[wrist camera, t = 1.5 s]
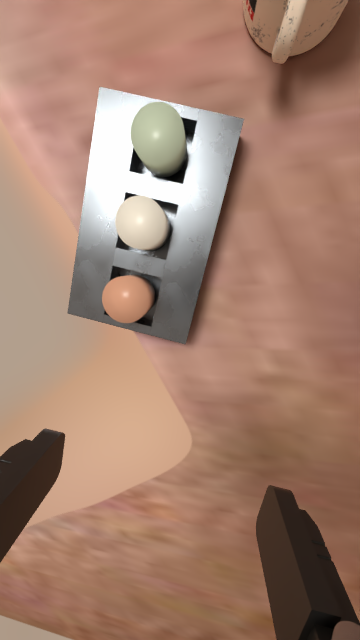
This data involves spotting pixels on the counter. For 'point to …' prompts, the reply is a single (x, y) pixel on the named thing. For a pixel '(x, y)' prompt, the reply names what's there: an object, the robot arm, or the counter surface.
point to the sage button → (159, 138)
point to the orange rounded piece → (128, 298)
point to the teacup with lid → (290, 24)
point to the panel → (170, 194)
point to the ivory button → (142, 223)
